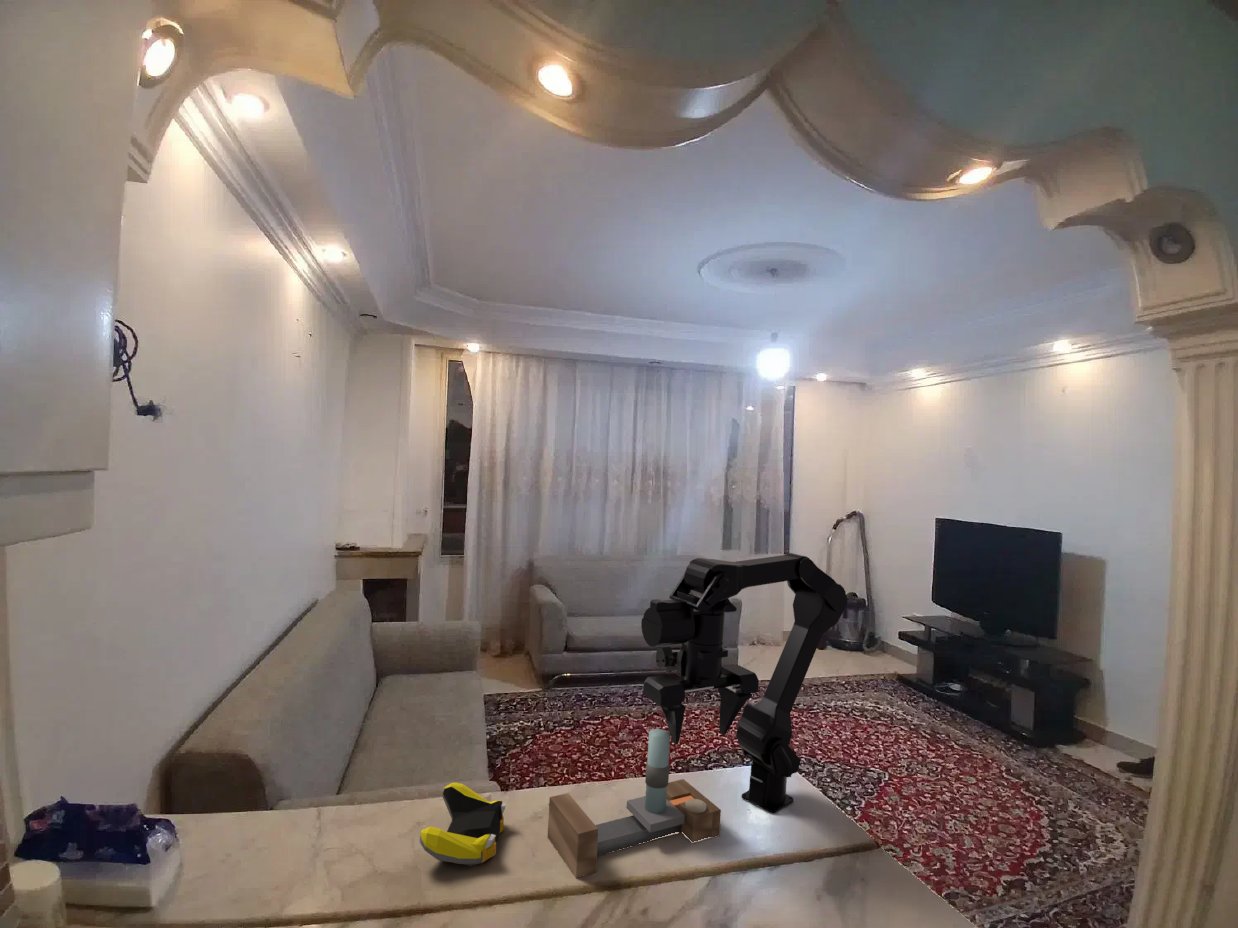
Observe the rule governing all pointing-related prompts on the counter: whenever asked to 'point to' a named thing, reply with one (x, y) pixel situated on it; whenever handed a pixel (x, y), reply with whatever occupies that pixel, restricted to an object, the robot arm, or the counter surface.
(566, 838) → the end cabinet
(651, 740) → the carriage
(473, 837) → the gaming controller
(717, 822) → the end cabinet
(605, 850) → the track
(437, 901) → the counter surface
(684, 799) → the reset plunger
